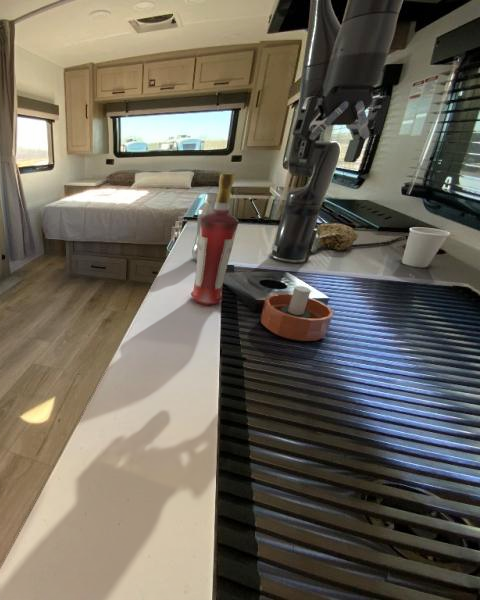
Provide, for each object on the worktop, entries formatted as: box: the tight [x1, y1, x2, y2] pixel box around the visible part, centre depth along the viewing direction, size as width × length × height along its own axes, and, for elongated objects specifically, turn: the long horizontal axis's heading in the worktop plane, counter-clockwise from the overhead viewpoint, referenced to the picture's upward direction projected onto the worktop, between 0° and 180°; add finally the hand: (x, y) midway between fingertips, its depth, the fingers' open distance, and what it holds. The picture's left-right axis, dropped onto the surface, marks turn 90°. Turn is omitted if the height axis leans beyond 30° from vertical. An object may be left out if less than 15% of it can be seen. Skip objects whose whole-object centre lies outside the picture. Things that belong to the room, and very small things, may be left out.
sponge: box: [316, 222, 359, 251], centre depth 116 cm, size 13×8×20 cm
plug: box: [280, 286, 311, 319], centre depth 64 cm, size 5×5×8 cm
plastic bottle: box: [191, 192, 218, 261], centre depth 98 cm, size 6×7×20 cm
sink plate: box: [223, 270, 330, 313], centre depth 79 cm, size 16×16×3 cm
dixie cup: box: [401, 226, 451, 268], centre depth 96 cm, size 8×8×10 cm
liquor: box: [190, 172, 239, 306], centre depth 71 cm, size 7×7×28 cm
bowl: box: [259, 294, 335, 342], centre depth 65 cm, size 11×11×5 cm
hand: (327, 162), depth 61 cm, fingers open, 8 cm apart
